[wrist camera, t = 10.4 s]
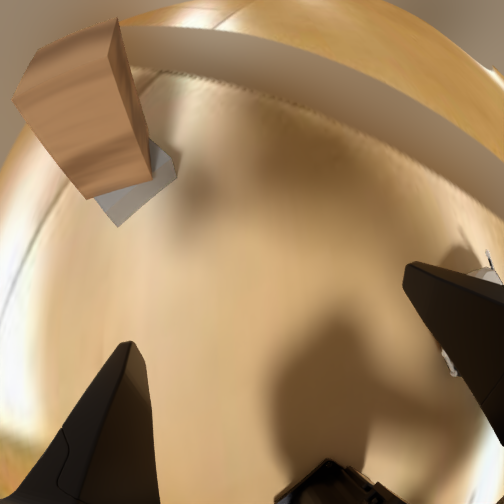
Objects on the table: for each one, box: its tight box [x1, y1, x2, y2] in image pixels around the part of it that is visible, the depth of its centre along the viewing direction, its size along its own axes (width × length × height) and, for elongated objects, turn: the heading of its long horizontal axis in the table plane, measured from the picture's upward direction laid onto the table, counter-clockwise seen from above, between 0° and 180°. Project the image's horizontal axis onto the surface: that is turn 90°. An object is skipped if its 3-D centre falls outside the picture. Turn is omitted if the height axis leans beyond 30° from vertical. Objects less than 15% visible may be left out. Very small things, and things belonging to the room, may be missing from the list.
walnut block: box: [11, 17, 153, 200], centre depth 16 cm, size 6×6×12 cm
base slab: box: [94, 138, 177, 227], centre depth 23 cm, size 7×7×3 cm
